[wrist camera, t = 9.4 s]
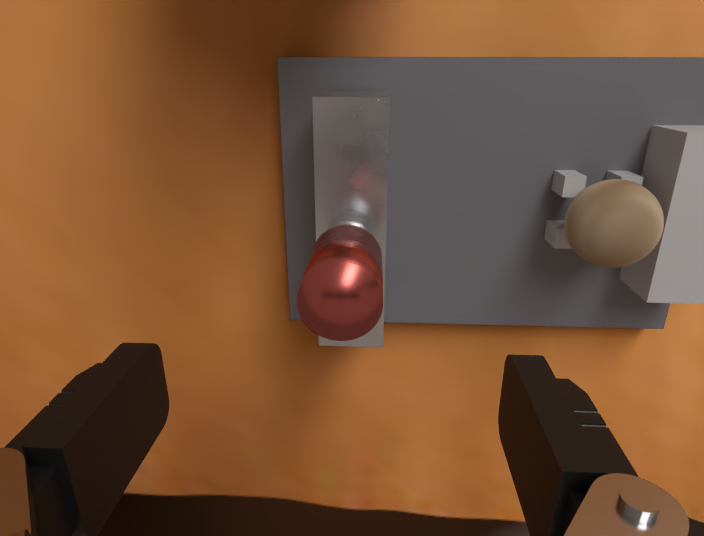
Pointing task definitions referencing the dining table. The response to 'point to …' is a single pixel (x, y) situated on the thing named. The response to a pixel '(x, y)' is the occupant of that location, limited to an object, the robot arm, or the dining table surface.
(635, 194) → the tan ball
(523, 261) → the nutcracker bench
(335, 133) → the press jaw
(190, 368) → the dining table surface
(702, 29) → the dining table surface
